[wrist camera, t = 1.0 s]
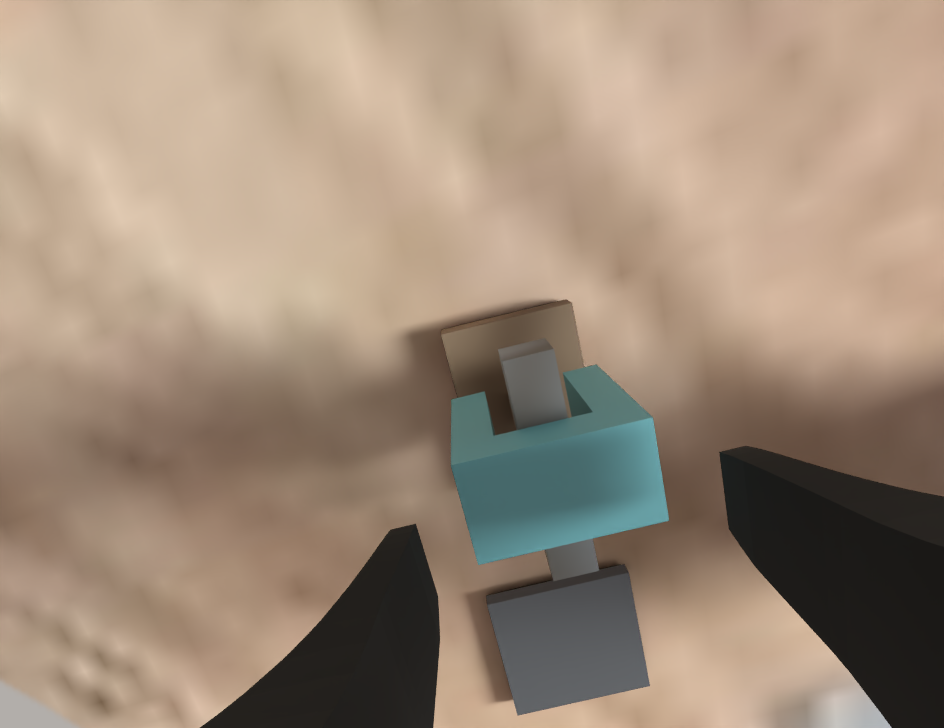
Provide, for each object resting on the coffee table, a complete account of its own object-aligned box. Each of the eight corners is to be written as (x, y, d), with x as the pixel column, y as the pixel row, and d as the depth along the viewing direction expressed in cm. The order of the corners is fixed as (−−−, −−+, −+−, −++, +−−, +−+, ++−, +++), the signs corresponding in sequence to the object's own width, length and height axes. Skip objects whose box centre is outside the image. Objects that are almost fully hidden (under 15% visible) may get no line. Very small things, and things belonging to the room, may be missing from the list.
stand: (566, 299, 20) (620, 332, 13) (596, 459, 22) (658, 557, 15) (441, 329, 20) (436, 377, 14) (482, 486, 22) (495, 595, 15)
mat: (624, 564, 23) (628, 572, 22) (645, 675, 25) (649, 685, 24) (486, 595, 23) (487, 605, 23) (516, 704, 25) (517, 715, 24)
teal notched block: (596, 364, 18) (652, 417, 13) (610, 441, 19) (669, 520, 14) (451, 399, 18) (450, 465, 13) (471, 475, 19) (478, 565, 14)
